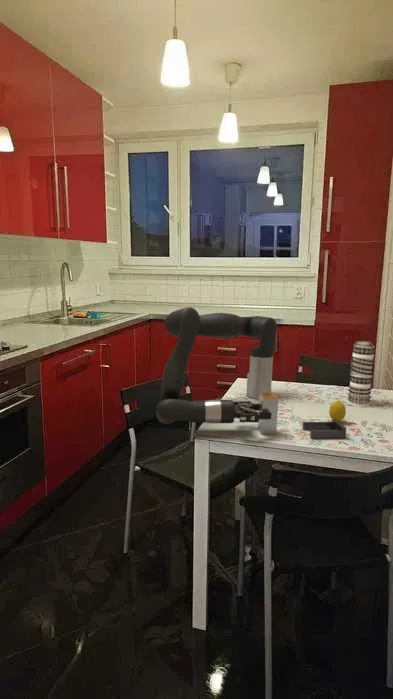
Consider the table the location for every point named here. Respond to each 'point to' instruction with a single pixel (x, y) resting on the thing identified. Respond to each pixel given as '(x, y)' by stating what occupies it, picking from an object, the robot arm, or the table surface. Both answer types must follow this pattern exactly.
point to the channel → (325, 430)
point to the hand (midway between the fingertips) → (268, 411)
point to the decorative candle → (361, 374)
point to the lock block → (268, 411)
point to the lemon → (337, 410)
